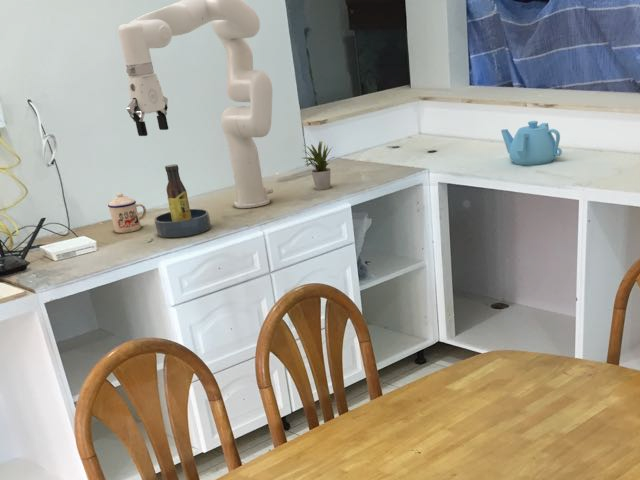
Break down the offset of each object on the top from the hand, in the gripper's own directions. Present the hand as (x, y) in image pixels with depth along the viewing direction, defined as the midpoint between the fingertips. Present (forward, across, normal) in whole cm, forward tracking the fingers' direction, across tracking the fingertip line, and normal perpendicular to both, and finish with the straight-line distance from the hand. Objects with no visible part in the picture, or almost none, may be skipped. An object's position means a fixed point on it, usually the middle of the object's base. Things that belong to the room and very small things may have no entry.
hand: (153, 132), depth 285 cm
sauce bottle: (+30, +3, -1) cm, 30 cm away
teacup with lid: (+31, +3, +21) cm, 37 cm away
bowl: (+30, +3, -1) cm, 31 cm away
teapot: (+31, +114, -78) cm, 142 cm away
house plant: (+31, +66, -15) cm, 74 cm away
